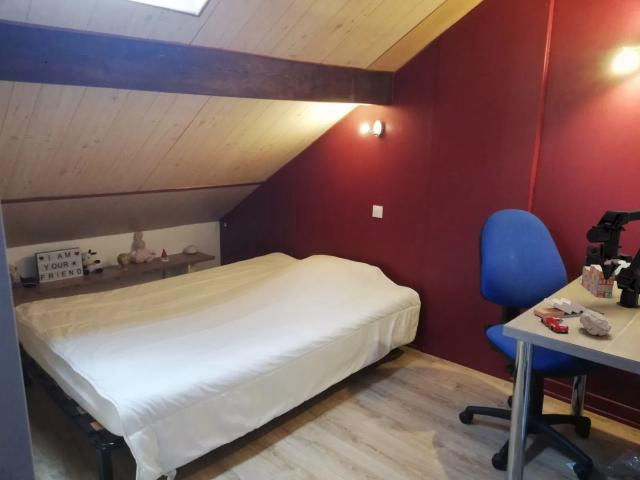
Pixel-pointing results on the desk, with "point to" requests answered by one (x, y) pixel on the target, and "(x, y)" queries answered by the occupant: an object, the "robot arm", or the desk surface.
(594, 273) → the stack of blocks
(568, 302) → the domino
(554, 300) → the domino
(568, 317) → the domino mat
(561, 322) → the race car
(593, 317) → the fossil replica
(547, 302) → the domino
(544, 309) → the domino
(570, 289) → the desk surface
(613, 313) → the desk surface
